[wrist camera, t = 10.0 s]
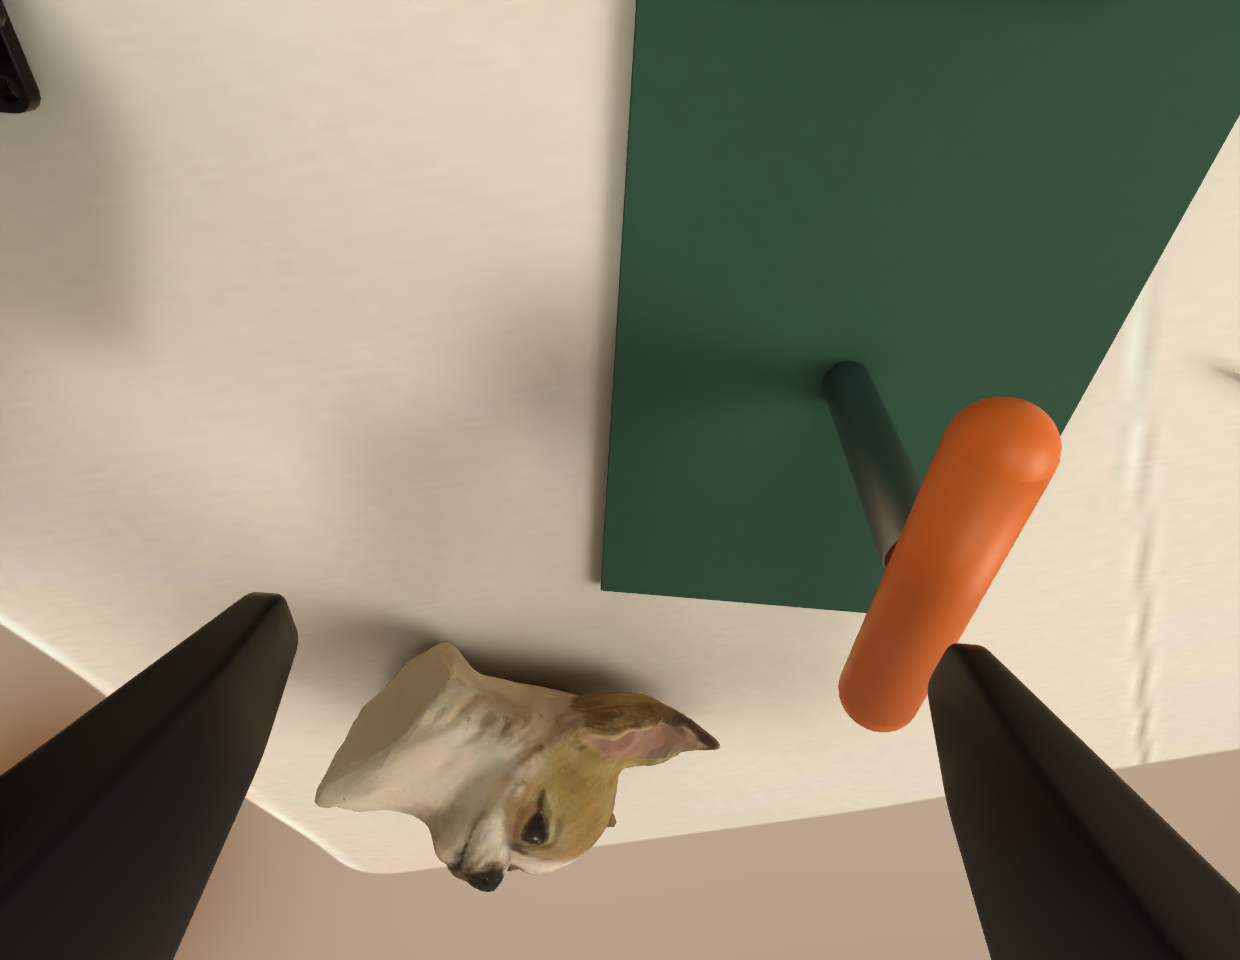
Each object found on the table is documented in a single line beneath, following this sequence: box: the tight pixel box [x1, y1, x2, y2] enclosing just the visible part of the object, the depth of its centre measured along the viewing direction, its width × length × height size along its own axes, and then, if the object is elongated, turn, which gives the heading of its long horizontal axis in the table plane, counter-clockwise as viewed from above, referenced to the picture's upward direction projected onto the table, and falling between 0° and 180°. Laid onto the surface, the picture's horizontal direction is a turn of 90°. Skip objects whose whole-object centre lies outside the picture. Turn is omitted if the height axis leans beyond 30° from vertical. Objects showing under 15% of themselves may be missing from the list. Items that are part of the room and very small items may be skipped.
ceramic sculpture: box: [315, 642, 720, 892], centre depth 29 cm, size 11×9×15 cm
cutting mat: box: [601, 0, 1240, 613], centre depth 21 cm, size 14×20×1 cm
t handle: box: [822, 362, 1062, 732], centre depth 17 cm, size 2×9×9 cm, turn 177°
